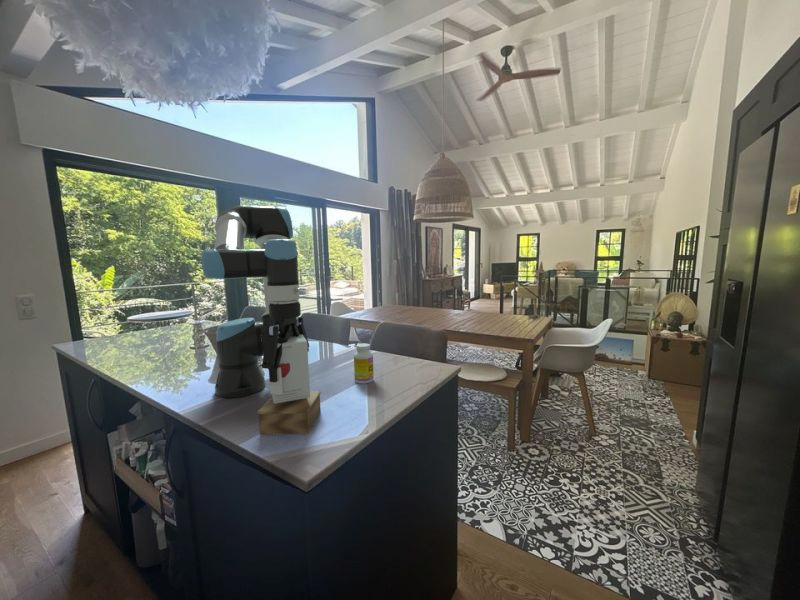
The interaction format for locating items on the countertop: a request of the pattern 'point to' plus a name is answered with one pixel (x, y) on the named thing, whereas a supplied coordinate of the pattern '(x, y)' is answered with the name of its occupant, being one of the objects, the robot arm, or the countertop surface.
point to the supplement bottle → (363, 364)
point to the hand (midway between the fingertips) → (289, 384)
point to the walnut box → (289, 415)
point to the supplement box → (294, 370)
